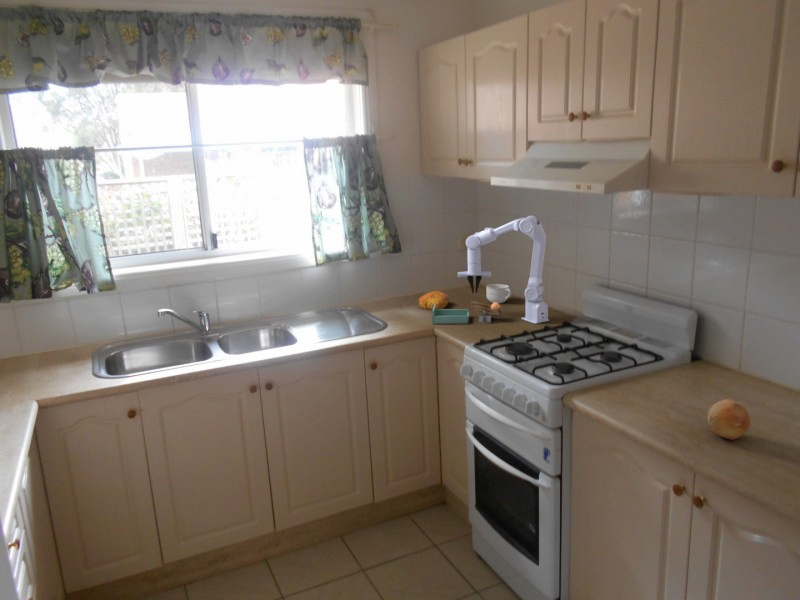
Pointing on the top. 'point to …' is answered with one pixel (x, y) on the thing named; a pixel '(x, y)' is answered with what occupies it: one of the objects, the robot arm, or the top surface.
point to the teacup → (498, 293)
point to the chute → (486, 309)
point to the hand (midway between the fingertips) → (474, 292)
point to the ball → (495, 306)
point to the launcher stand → (484, 318)
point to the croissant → (434, 300)
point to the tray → (450, 316)
